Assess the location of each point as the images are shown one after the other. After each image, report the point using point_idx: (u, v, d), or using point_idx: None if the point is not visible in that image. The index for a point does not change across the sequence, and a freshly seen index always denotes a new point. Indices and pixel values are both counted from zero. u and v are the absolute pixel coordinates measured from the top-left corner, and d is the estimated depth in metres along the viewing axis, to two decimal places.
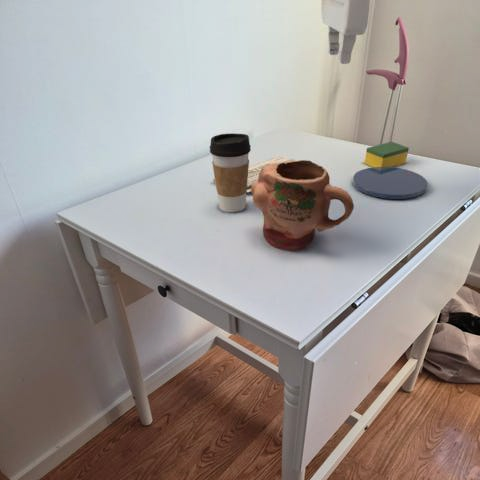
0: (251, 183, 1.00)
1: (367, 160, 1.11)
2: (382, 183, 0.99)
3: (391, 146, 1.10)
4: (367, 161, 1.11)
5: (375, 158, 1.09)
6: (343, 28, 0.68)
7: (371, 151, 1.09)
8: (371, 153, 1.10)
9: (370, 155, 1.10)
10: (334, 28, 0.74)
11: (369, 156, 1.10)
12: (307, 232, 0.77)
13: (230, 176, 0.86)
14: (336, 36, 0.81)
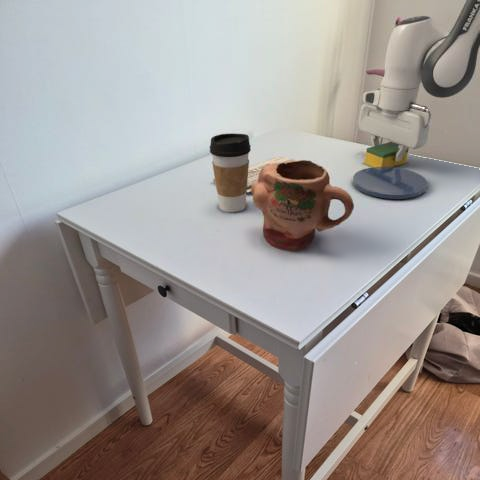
0: (251, 183, 1.00)
1: (367, 160, 1.11)
2: (382, 183, 0.99)
3: (391, 147, 1.10)
4: (367, 161, 1.11)
5: (375, 158, 1.09)
6: (412, 145, 1.01)
7: (371, 151, 1.09)
8: (371, 153, 1.10)
9: (370, 155, 1.10)
10: (390, 140, 1.06)
11: (369, 156, 1.10)
12: (307, 232, 0.77)
13: (230, 176, 0.86)
14: (377, 140, 1.12)
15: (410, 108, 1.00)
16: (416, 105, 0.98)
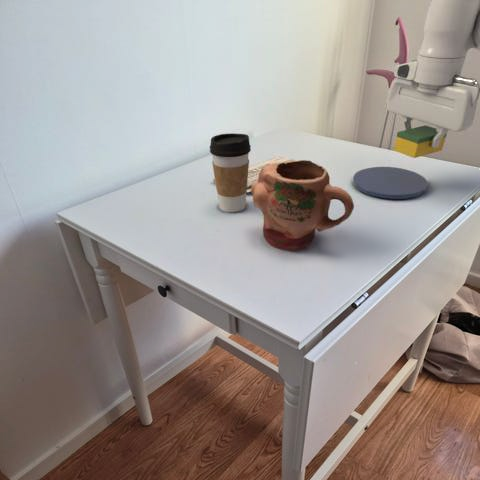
0: (251, 183, 1.00)
1: (397, 146, 0.94)
2: (382, 183, 0.99)
3: (425, 130, 0.93)
4: (397, 148, 0.94)
5: (408, 143, 0.92)
6: (455, 127, 0.84)
7: (403, 136, 0.92)
8: (402, 138, 0.93)
9: (402, 140, 0.93)
10: (427, 122, 0.89)
11: (400, 142, 0.93)
12: (307, 232, 0.77)
13: (230, 176, 0.86)
14: (409, 123, 0.96)
15: (454, 82, 0.83)
16: (462, 79, 0.81)
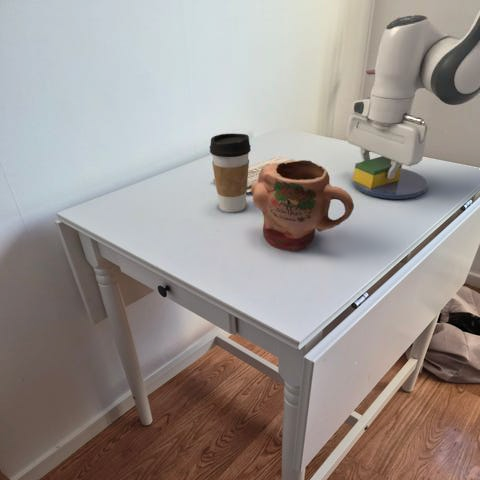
0: (251, 183, 1.00)
1: (356, 177, 0.99)
2: None
3: (382, 162, 0.98)
4: (356, 178, 1.00)
5: (365, 174, 0.97)
6: (406, 161, 0.89)
7: (361, 167, 0.97)
8: (360, 169, 0.98)
9: (359, 171, 0.98)
10: (382, 155, 0.94)
11: (358, 173, 0.98)
12: (307, 232, 0.77)
13: (230, 176, 0.86)
14: (367, 155, 1.01)
15: (404, 120, 0.88)
16: (411, 117, 0.86)
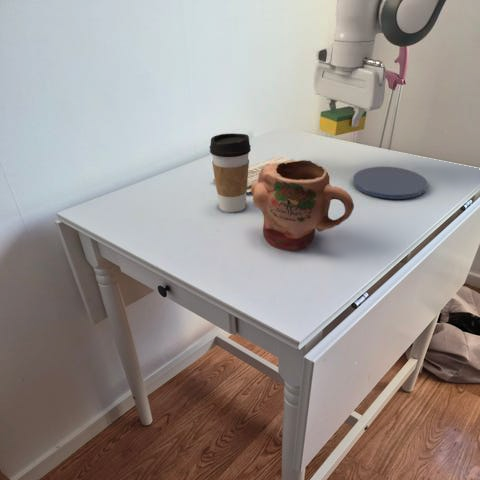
0: (251, 183, 1.00)
1: (321, 125, 1.01)
2: (382, 183, 0.99)
3: (347, 110, 1.00)
4: (321, 126, 1.01)
5: (329, 122, 0.99)
6: (367, 106, 0.91)
7: (325, 115, 0.99)
8: (325, 117, 1.00)
9: (324, 119, 1.00)
10: (345, 102, 0.96)
11: (323, 121, 1.00)
12: (307, 232, 0.77)
13: (230, 176, 0.86)
14: (334, 105, 1.03)
15: (364, 64, 0.90)
16: (370, 61, 0.88)
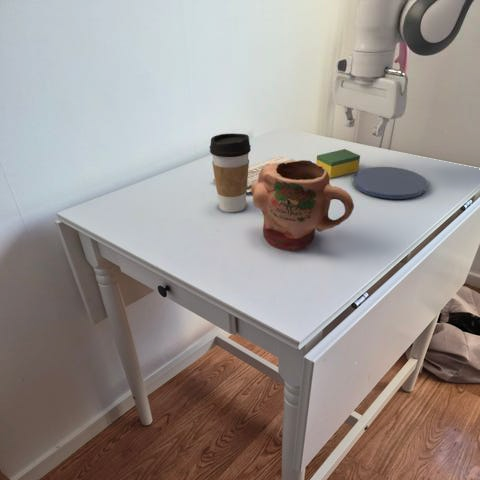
0: (251, 183, 1.00)
1: None
2: (382, 183, 0.99)
3: (342, 154, 1.07)
4: None
5: (325, 165, 1.05)
6: (389, 115, 0.91)
7: (321, 159, 1.06)
8: (320, 161, 1.06)
9: (320, 162, 1.06)
10: (366, 111, 0.96)
11: (319, 164, 1.07)
12: (307, 232, 0.77)
13: (230, 176, 0.86)
14: (350, 113, 1.03)
15: (385, 74, 0.90)
16: (392, 70, 0.88)
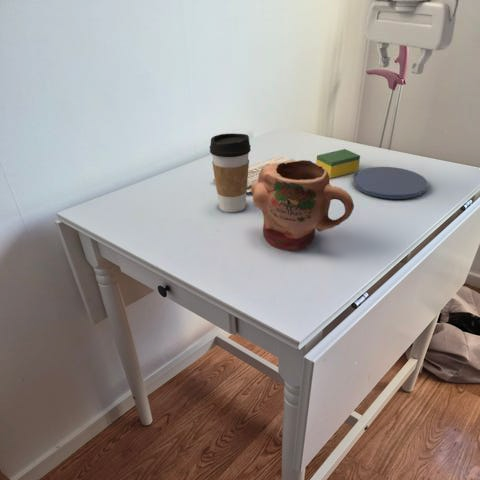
0: (251, 183, 1.00)
1: None
2: (382, 183, 0.99)
3: (342, 154, 1.07)
4: None
5: (325, 165, 1.05)
6: (434, 45, 0.81)
7: (321, 159, 1.06)
8: (320, 161, 1.06)
9: (320, 162, 1.06)
10: (405, 45, 0.86)
11: (319, 164, 1.07)
12: (307, 232, 0.77)
13: (230, 176, 0.86)
14: (385, 51, 0.93)
15: None
16: None
